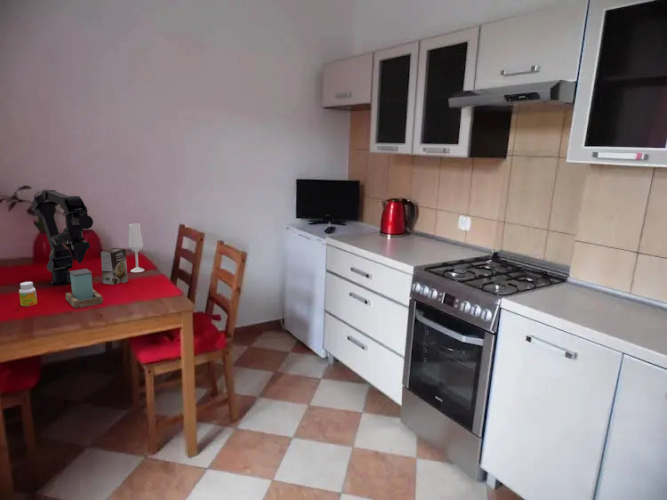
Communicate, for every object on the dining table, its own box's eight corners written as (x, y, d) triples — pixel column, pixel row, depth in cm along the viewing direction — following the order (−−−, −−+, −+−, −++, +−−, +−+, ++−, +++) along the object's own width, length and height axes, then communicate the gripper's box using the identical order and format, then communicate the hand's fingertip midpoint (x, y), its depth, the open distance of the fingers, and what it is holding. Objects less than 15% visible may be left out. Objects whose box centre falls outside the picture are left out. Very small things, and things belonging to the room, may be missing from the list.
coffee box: (115, 287, 197) (112, 252, 193) (102, 285, 198) (99, 251, 195) (128, 281, 206) (126, 248, 202) (116, 280, 207) (114, 247, 203)
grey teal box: (72, 299, 177) (69, 271, 174) (89, 296, 181) (86, 268, 178) (76, 304, 172) (73, 274, 170) (94, 300, 177) (91, 272, 174)
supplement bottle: (20, 310, 167) (16, 286, 165) (22, 305, 172) (19, 281, 170) (36, 308, 170) (33, 284, 168) (38, 303, 175) (35, 280, 172)
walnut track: (64, 302, 177) (63, 293, 176) (94, 297, 184) (93, 288, 183) (74, 312, 167) (73, 302, 167) (104, 306, 175) (104, 296, 174)
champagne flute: (131, 272, 219) (127, 225, 214) (129, 269, 225) (126, 223, 219) (145, 271, 223) (142, 225, 217) (143, 268, 228) (140, 222, 223)
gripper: (46, 224, 186) (50, 259, 190) (58, 231, 173) (62, 269, 177) (75, 221, 194) (78, 255, 198) (88, 228, 181) (92, 265, 185)
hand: (77, 261), depth 189 cm, fingers open, 7 cm apart
